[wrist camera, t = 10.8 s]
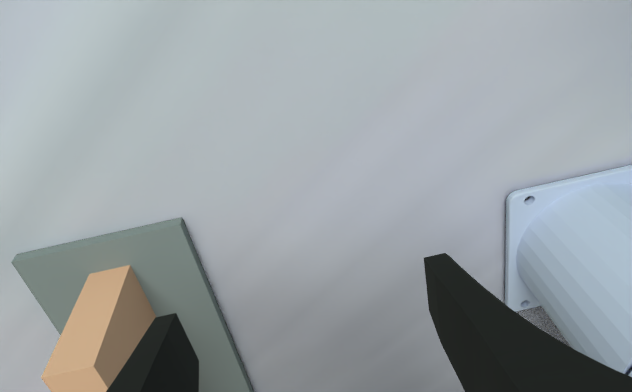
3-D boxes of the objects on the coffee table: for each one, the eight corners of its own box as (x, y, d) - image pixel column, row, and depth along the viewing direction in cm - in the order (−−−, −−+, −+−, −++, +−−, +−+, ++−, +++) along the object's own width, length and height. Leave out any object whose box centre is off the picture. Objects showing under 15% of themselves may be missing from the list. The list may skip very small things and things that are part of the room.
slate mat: (181, 217, 23) (180, 224, 22) (265, 420, 31) (265, 429, 30) (16, 254, 23) (11, 262, 22) (144, 447, 31) (142, 456, 31)
